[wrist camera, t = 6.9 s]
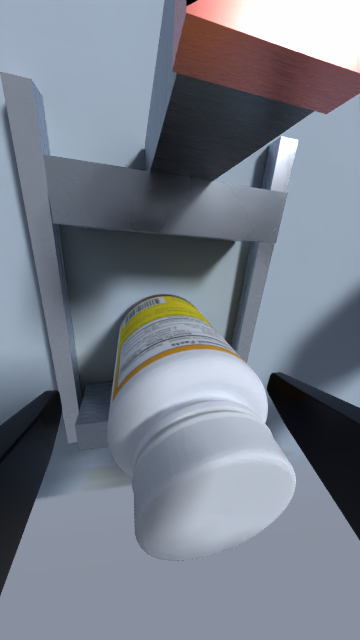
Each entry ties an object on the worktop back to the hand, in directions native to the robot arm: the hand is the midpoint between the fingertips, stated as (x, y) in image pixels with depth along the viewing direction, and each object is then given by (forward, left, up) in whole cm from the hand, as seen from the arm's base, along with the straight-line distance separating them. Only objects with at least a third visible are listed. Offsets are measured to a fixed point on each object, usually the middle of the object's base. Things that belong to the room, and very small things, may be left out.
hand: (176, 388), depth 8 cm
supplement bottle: (0, 0, -6) cm, 6 cm away
